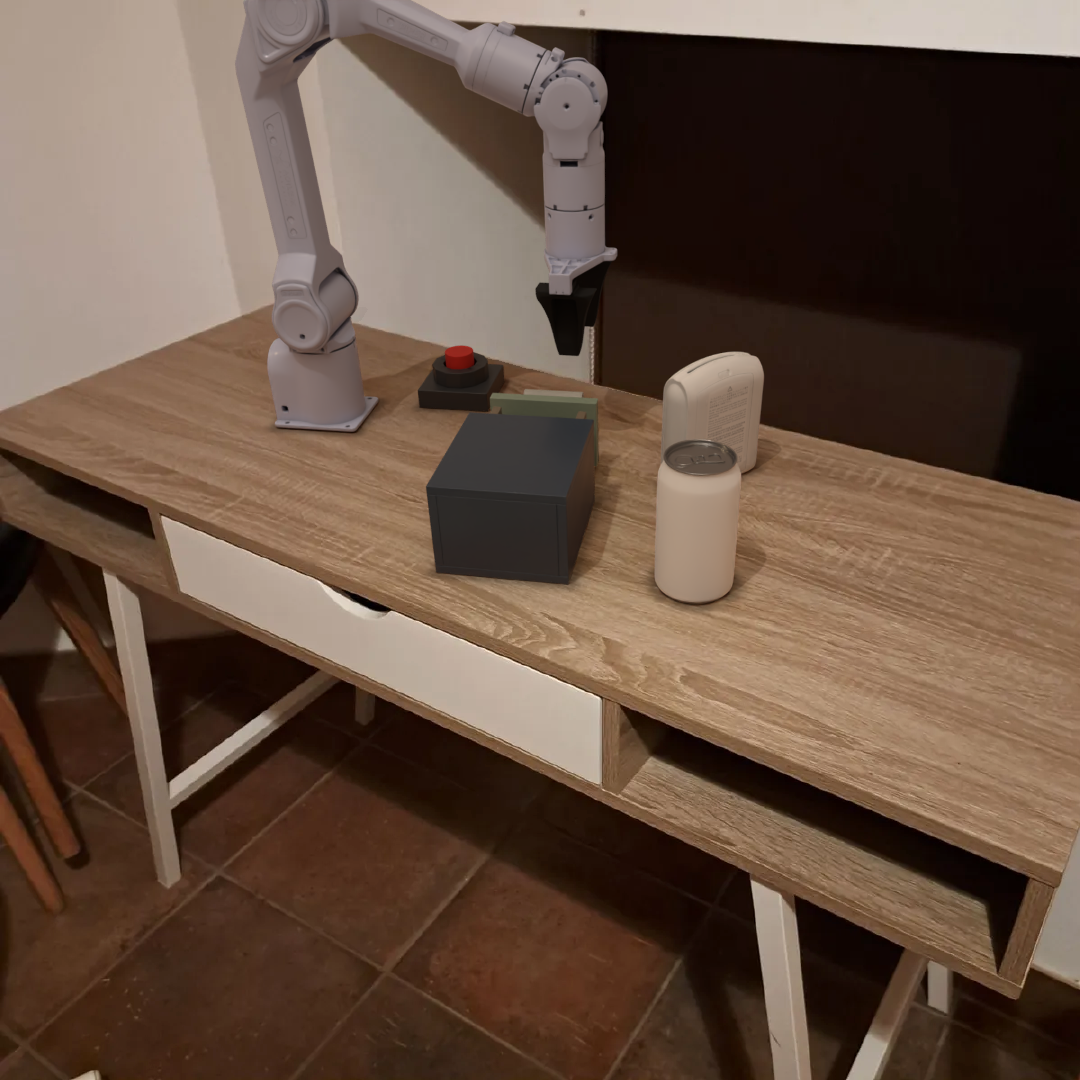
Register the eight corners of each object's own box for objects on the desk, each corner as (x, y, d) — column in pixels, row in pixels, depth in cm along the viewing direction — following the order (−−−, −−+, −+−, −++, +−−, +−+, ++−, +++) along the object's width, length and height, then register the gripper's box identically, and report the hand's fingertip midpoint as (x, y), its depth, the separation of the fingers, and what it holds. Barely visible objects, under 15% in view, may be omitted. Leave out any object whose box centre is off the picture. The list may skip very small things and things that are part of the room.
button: (442, 370, 113) (441, 355, 112) (450, 359, 116) (449, 344, 115) (470, 371, 113) (469, 357, 112) (477, 360, 115) (476, 345, 114)
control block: (419, 407, 114) (415, 375, 112) (439, 378, 120) (436, 346, 118) (488, 411, 112) (485, 378, 110) (504, 381, 119) (502, 349, 117)
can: (648, 564, 86) (651, 439, 80) (722, 558, 87) (731, 433, 80) (662, 609, 81) (666, 480, 74) (741, 603, 81) (753, 473, 75)
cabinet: (476, 492, 98) (469, 412, 93) (594, 501, 95) (593, 419, 91) (435, 572, 87) (425, 486, 82) (568, 584, 84) (566, 496, 80)
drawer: (507, 432, 106) (503, 372, 102) (605, 438, 104) (605, 377, 100) (464, 519, 92) (457, 453, 88) (576, 528, 90) (575, 461, 86)
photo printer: (732, 452, 102) (741, 336, 96) (762, 468, 99) (773, 350, 92) (652, 483, 98) (655, 364, 91) (681, 501, 95) (687, 380, 88)
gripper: (602, 227, 89) (603, 370, 96) (628, 184, 100) (627, 315, 108) (524, 224, 90) (531, 366, 98) (559, 182, 102) (563, 312, 109)
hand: (577, 339), depth 103 cm, fingers open, 7 cm apart
